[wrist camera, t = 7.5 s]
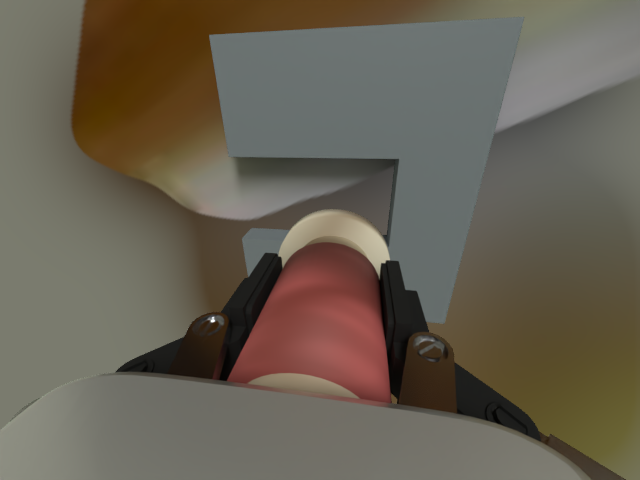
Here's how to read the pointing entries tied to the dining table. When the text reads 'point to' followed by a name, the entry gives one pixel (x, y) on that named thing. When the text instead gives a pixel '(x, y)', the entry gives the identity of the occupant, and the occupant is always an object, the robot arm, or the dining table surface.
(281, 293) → the bobbin
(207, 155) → the dining table surface
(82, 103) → the dining table surface
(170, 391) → the robot arm
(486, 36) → the notched board
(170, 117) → the dining table surface
